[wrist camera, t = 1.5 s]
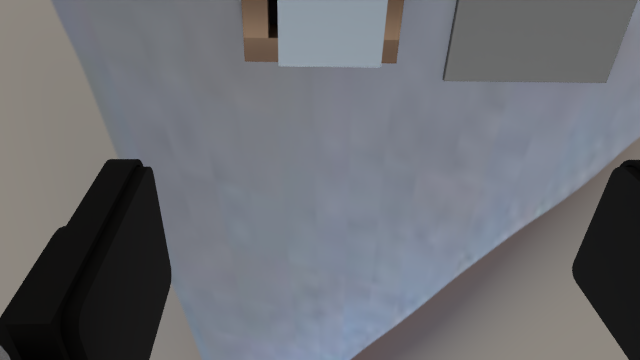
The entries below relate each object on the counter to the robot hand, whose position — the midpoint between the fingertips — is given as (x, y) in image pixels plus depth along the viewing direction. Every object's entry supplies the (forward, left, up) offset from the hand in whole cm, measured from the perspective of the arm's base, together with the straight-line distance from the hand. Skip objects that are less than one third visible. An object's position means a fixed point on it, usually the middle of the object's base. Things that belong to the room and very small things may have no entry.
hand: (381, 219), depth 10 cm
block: (0, 0, -25) cm, 25 cm away
